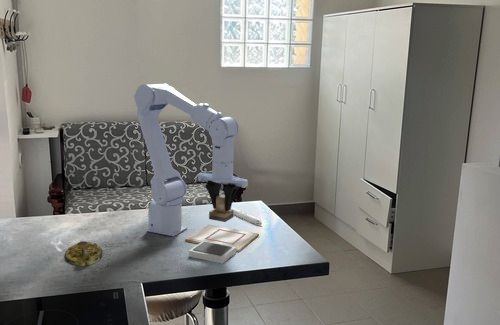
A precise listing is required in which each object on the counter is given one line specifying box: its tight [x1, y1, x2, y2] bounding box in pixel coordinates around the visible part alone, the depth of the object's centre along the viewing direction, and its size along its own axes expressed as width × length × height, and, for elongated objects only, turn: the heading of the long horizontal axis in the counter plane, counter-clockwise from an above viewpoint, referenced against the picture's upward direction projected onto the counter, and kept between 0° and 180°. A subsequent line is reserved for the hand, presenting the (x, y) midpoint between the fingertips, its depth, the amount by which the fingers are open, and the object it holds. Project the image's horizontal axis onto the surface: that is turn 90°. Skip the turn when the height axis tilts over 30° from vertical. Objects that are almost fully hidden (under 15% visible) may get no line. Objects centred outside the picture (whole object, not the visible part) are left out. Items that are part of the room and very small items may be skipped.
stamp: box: [208, 194, 234, 223], centre depth 136 cm, size 5×5×6 cm
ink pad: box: [188, 241, 237, 264], centre depth 131 cm, size 10×8×2 cm
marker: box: [231, 206, 263, 226], centre depth 161 cm, size 18×2×2 cm, turn 38°
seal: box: [64, 240, 104, 267], centre depth 128 cm, size 9×5×15 cm
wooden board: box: [184, 224, 260, 252], centre depth 143 cm, size 17×14×1 cm
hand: (221, 208), depth 136 cm, fingers closed on stamp, 3 cm apart
